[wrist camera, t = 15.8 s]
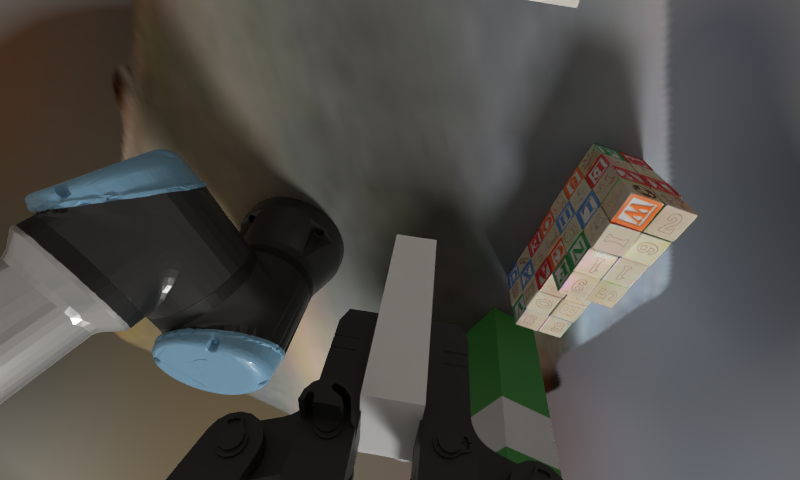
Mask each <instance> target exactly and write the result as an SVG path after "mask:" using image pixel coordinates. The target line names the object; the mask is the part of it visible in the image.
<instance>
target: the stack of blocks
mask: <svg viewBox="0 0 800 480" xmlns="http://www.w3.org/2000/svg"><path fill="white" fill-rule="evenodd" d="M681 198H682V197H681V196H680V195H679V194H678V193H677V192H676V191H675V190H674V189H673V188H672V187H671V186H670V185H669V184H668V183H666V182H665V181H664V180H663V179H662V178H661V177H660V176H659V175H657V174H656V173H655V172H654V171H653V169H652V168H651V167H650V166H649V165H648V164H647V163H646V162H645V161H644V160H641V159H639V158H636V157H633V156H630V155H627V154H624V153H621V152H617V151H614V150H611V149H609V148H606V147H603V146H600V145H597V144H595V143H593V144H592V146H591V147H590V149H589V150H588V152H587V153H586V155H585V156H584V158H583V160H582V161H581V163H580V164H579V166H578V167H577V168H576V169H575V171H574V172H573V174H572V175H571V177H570V178H569V180H568V181H567V183H566V185H565V186H564V188H563V189H562V191H561V192H560V194H559V195H558V197H557V198H556V200H555V201H554V203H553V205H552V206H551V208H550V211H549V212H548V214H547V216H546V217H545V219H544V220H543V222H542V223H541V225H540V227H539V229H538V230H537V232H536V233H535V235H534V237H533V238H532V240H531V241H530V243H529V245H527V246H526V248H525V249H524V251H523V252H522V254H521V256H520V257H519V259H518V260H517V262H516V264H515V265H514V267H513V268H512V270H511V271H510V273H509V275H508V284H509V290H510V299H511V305H512V307H513V313H514V319H515V324H517V325H520V326H523V327H526V328H529V329H532V330H535V331H540V332H543V333H546V334H550V335H553V336H556V337H559V338H560V337H561V336H562V335H563V334H564V333H565V331H566V330H567V329H568V328H569V327H570V326H571V324H572V322H575V321H576V319H577V318H578V317H579V316H580V315H581V314H582V312H583V311H584V310H585V309H586V308H587V306H589V305H590V303H591V302H595V303H598V304H601V305H604V306H607V307H610V308H612V307H613V306H614V305H615V304H616V303H617V302H618V301H619V299H620V298H621V297H622V296H623V295H624V294H625V293H626V292H627V291H628V290H629V288H630V287H631V286H632V285H633V284H634V283H635V281H636V280H637V279H638V278H639V277H640V276H641V275H642V274H643V273H644V272H645V270H646V269H647V268H648V266H651V265H652V264H653V262H654V261H655V260H656V259H657V258H658V257H659V256H660V255H661V254H662V253H663V252H664V251H665V250H666V248H667V247H668V246H669V245H670V244H671V242H672V241H674V240H676V239H677V237H679V236H680V234H681V233H682V232H683V231H684V230H685V229H686V228H687V227H688V226H689V225H690V224H691V223H692V222H693V221H694V219H696V217H697V214H696V213H695V212H694V211H693V210H692V209H691V208H690V207H689V206H688V205H687V204H686V203H685V202H684V201H683V200H681Z"/></svg>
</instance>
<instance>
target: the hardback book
mask: <svg viewBox="0 0 800 480" xmlns="http://www.w3.org/2000/svg"><path fill="white" fill-rule="evenodd" d="M465 335H466V337H467V339H468V357H469V382H470V408H471V420H472V425H473V427H474V430H475V432H476V434H477V435H478V437H479V438H480V440H481V441H482V442H483V443H484V444H485V445H486V446H487V447H489V448H490V449H492V450H493V451H495V452H496V453H498V454H500V455H502V456H504V457H506V458H507V459H509V460H511V461H513V462H515V463H517V464H518V463H521V462H524V461H527V460H532V461H539V462H541V463H543V464H545V465H547V466H549V467H551V468H552V469H553V470H554V471H555V472H556V473H557V474H558V475H559V476H560V477H561V472H560V467H559V462H558V457H557V452H556V446H555V441H554V436H553V430H552V425H551V420H550V415H549V410H548V404H547V399H546V394H545V389H544V384H543V378H542V373H541V368H540V363H539V358H538V352H537V347H536V342H535V337H534V332H533V330H532V329H529V328H526V327H523V326H520V325H517V324H515V319H514V317H512V316H510V315H508V314H506V313H504V312H502V311H500V310H498V309H496V308H493V309H492V310H491V311H490V312H489V313H488V314H487V315H486V316H484V317H483V318H482V319H481V320H480V321H479V322H478V323H477V324H476V325H475V326H474V327H473V328H472V329H470V330H469V331H468V332H467V333H466V334H465ZM561 478H562V477H561Z"/></svg>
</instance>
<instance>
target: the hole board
mask: <svg viewBox="0 0 800 480" xmlns="http://www.w3.org/2000/svg"><path fill="white" fill-rule="evenodd" d="M531 1H537V2H543V3H549V4H555V5H561V6H567V7H574V8H577V6H578V3H579V0H531Z"/></svg>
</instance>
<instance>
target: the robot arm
mask: <svg viewBox="0 0 800 480" xmlns="http://www.w3.org/2000/svg"><path fill="white" fill-rule="evenodd" d="M206 186H207V185H206V183H205V182H203V181H201V180H200V179H199V178H198V177H197V175H196V174H195V173H194V172H193V171H192V169H191V168H190V167H189V166H188V165H187V163H186V162H185V161H184V160H183V159H182V158H181V157H180V156H179V155H178V154H176V153H174V152H172V151H169V150H165V149H157V150H153V151H150V152H147V153H144V154H141V155H138V156H136V157H133V158H130V159H127V160H124V161H121V162H119V163H116V164H113V165H110V166H107V167H105V168H102V169H99V170H96V171H94V172H91V173H88V174H85V175H82V176H80V177H77V178H74V179H71V180H68V181H66V182H63V183H60V184H57V185H54V186H51V187H49V188H46V189H43V190H40V191H37V192H34V193H32V194H29V195H27V196H26V200H25V201H26V203H27V209H28V210H30V211H31V212H36V214H34V215H33V216H31V217H29V218H28V219H25V220H24V221H22V222H20V223H18V224H16V225H14V226H12V227H11V228H10V231H9V236H8V241H7V246H6V250H5V252H4V254H3V255H2V257H1V258H0V404H1V403H2V402H4V401H5V400H6V399H8V398H9V397H10V396H11V395H13V394H14V393H16V392H17V391H18V390H19V389H21V388H22V387H24V386H25V385H26V384H27V383H29V382H30V381H31V380H33V379H34V378H35V377H36V376H38V375H39V374H40V373H42V372H43V371H44V370H46V369H47V368H49V367H50V366H51V365H53V364H54V363H55V362H57V361H58V360H59V359H61V358H62V357H63V356H64V355H66V354H67V353H68V352H70V351H71V350H73V349H74V348H75V347H76V346H78V345H79V344H80V343H82V342H83V341H84V340H86V339H87V338H88V337H90V336H91V335H92V334H95V333H99V332H112V331H127V330H128V329H130V328H131V327H133V326H134V325H135V324H137V323H138V322H139V321H140V320H142V319H143V318H144V317H145V316H146V317H147V318H148V319H149V320H150V321H151V322H152V323H153V324H154V325H155V326H156V327H157V328H158V329H159V330H160V331H161V332H162V335H159V336H158V337H157V339H156V340H155V345H154V346H153V349H152V355H153V356H154V360H155V363H156V364H157V365H158V366H159V367H160V368H161V369H162V370H163V371H164V372H165V373H167V374H168V375H170V376H171V377H173V378H175V379H176V380H178V381H180V382H182V383H184V384H187V385H189V386H192V387H195V388H198V389H201V390H205V391H209V392H214V393H219V394H230V395H237V394H246V393H251V392H254V391H256V390H258V389H260V388H262V387H263V386H265V385H266V384H267V383H268V382H269V381H270V379H271V378H272V376H273V374H274V372H275V371H276V369H277V367H278V365H279V364H280V362H282V361H283V359H284V356H285V354H286V352H287V349H288V347H289V345H290V343H291V341H292V338H293V336H294V334H295V332H296V330H297V327H298V325H299V323H300V321H301V319H302V317H303V314H304V312H305V310H306V308H307V306H308V303H309V301H310V299H311V297H312V296H313V295H314V294H315V293H316V292H317V291H319V290H320V289H321V288H322V287H323V286H324V285H325V284H326V283H327V282H329V281H330V280H331V279H332V278H333V277H334V275H335V274H336V272H337V271H338V268H339V266H340V264H341V262H342V259H343V254H344V246H343V241H342V238H341V235H340V233H339V231H338V229H337V228H336V226H335V225H334V224H333V222H332V221H331V220H330V219H329V218H328V217H327V216H326V215H325V214H324V213H322V212H321V211H320V210H318V209H317V208H315V207H313V206H312V205H310V204H307V203H305V202H302V201H299V200H296V199H291V198H272V199H268V200H265V201H263V202H261V203H259V204H257V205H256V206H255V207H254V208H253V209H252V210H251V211H250V212H249V213H248V214H247V215H246V217H245V218H244V220H243V221H242V223H241V226H240V229H239V231H238V230H237V228H236V227H235V226H234V224H233V223H232V222H231V220H230V219H229V218H228V216H227V215H226V214H225V212H224V211H223V210H222V208H221V207H220V206H219V204H218V203H217V201H216V200H215V199H214V197H213V196H212V195H211V193H210V192H209V190H208V189H207V188H206ZM436 244H437V240H433V239H426V238H419V237H412V236H405V235H398V234H397V236H396V241H395V245H394V249H393V254H392V258H391V262H390V267H389V271H388V276H387V280H386V284H385V289H384V293H383V298H382V302H381V306H380V311H379V313H373V312H367V311H360V310H354V309H350V310H349V311H348V312H347V313H346V314H345V315H344V316H343V317H342V318H341V319H340V321H339V324H338V326H337V329H336V332H335V337H334V338H333V341H332V344H331V348H330V350H329V353H328V356H327V359H326V362H325V365H324V368H323V371H322V374H321V377H320V379H319V380H317V381H314V382H312V383H311V384H310V385H309V386H307V387H306V388H305V389H304V390H303V392H302V394H301V395H300V397H299V398H298V402H299V411H298V412H296V413H294V414H292V415H288V416H285V417H279V418H273V419H268V420H261V421H260V420H259V419H258V418H256V417H255V416H254V415H253V414H250V413H245V412H236V413H230V414H228V415H226V416H224V417H222V418H220V419H218V420H217V421H216V422H215V423H213V424H212V425H211V426H210V427H209V428H208V429H207V430H206V432H205V433H204V434H203V435H202V436H201V438H200V439H199V440H198V441H197V443H196V444H195V445H194V446H193V447H192V449H191V450H190V451H189V452H188V454H187V455H186V456H185V457H184V458H183V459H182V461H181V462H180V463H179V464H178V466H177V467H176V468H175V469H174V470H173V472H172V473H171V474H170V475H169V477H168V478H167V479H166V480H353V476H354V465H355V459H356V455H357V452H363V453H370V454H375V455H381V456H386V457H392V458H398V459H404V460H409V461H412V470H411V479H410V480H563V479H562V478H561V477H560V476H559V475H558V474H557V473H556V472H555V471H554V470H553V469H552V468H551V467H549V466H547V465H545V464H543V463H541V462H539V461H532V460H527V461H524V462H521V463H518V464H517V463H515V462H513V461H511V460H509V459H507V458H506V457H504V456H502V455H500V454H498V453H496V452H495V451H493V450H492V449H490V448H489V447H487V446H486V445H485V444H484V443H483V442H482V441H481V440H480V438H479V437H478V435H477V434H476V432H475V430H474V427H473V425H472V420H471V408H470V382H469V357H468V339H467V337H466V335H465V333H464V331H463V329H462V327H461V325H456V324H450V323H443V322H437V321H431V317H432V302H433V288H434V273H435V258H436Z"/></svg>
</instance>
